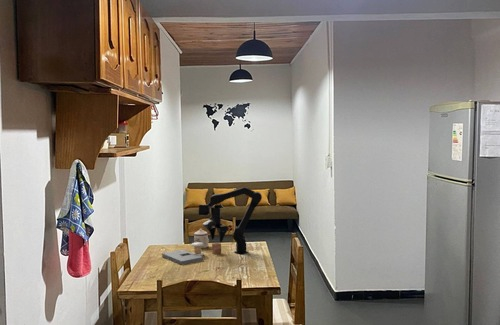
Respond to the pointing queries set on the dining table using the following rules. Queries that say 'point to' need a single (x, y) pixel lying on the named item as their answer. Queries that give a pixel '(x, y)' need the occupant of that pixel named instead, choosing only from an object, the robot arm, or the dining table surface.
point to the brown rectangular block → (216, 248)
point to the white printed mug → (201, 238)
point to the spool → (198, 248)
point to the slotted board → (182, 257)
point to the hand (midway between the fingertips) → (216, 240)
